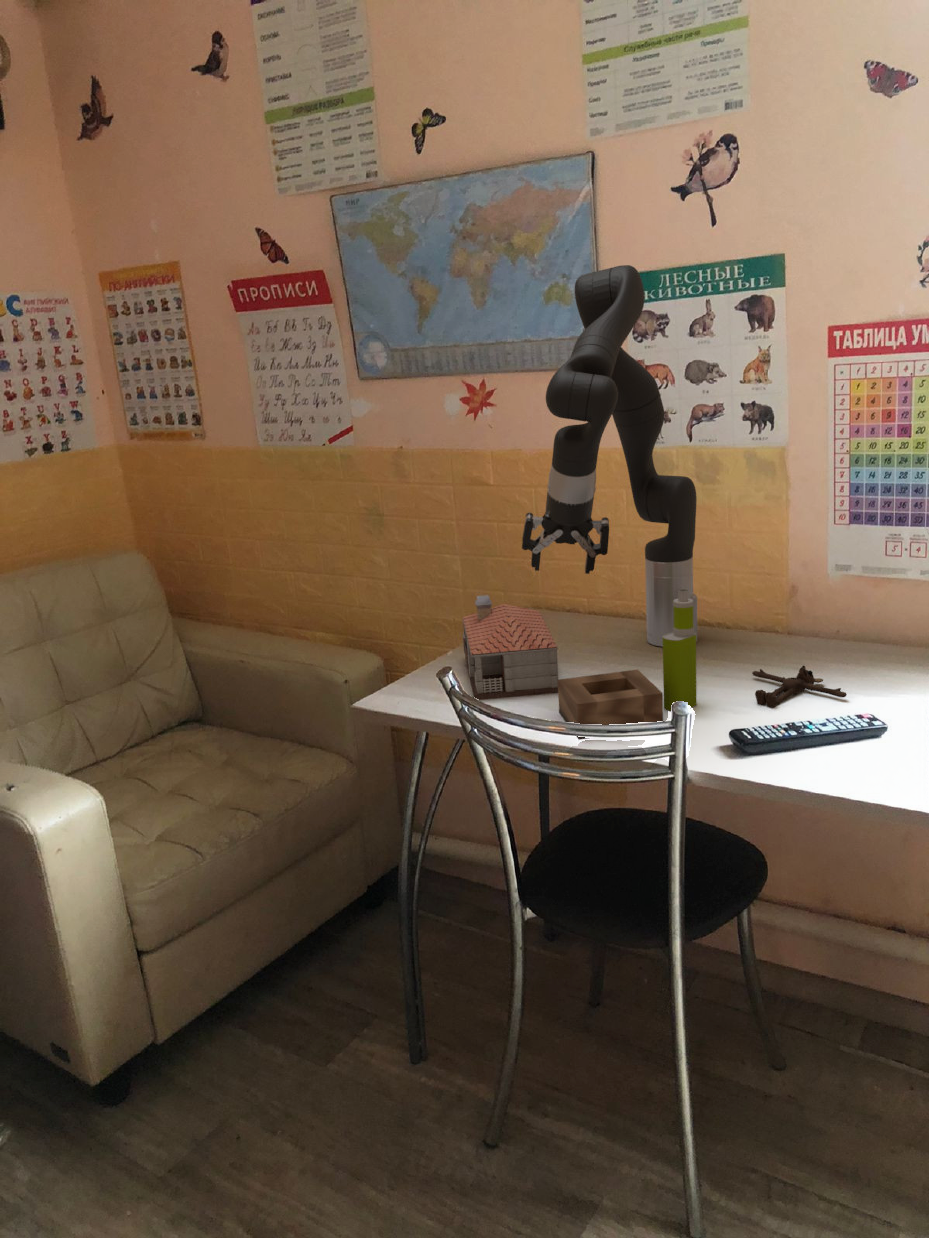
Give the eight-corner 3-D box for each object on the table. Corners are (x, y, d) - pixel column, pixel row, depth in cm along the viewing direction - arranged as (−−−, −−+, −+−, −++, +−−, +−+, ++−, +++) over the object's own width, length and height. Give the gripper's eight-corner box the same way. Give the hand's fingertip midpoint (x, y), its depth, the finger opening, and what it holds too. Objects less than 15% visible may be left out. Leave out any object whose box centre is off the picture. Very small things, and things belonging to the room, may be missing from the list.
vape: (700, 703, 174) (700, 589, 168) (677, 713, 170) (675, 597, 165) (683, 698, 177) (682, 586, 171) (660, 708, 173) (657, 593, 168)
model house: (463, 660, 206) (458, 587, 202) (541, 653, 207) (537, 580, 202) (472, 702, 183) (466, 621, 179) (559, 694, 184) (556, 613, 180)
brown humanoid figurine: (718, 680, 177) (767, 650, 185) (719, 702, 178) (768, 672, 187) (812, 704, 163) (860, 671, 172) (813, 728, 165) (861, 694, 173)
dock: (638, 702, 176) (637, 669, 175) (663, 728, 165) (662, 693, 163) (559, 712, 174) (557, 679, 173) (578, 739, 163) (577, 704, 161)
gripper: (614, 479, 168) (602, 559, 178) (527, 473, 168) (520, 553, 179) (616, 505, 162) (604, 585, 173) (526, 499, 163) (519, 580, 173)
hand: (561, 569), depth 176 cm, fingers open, 8 cm apart
